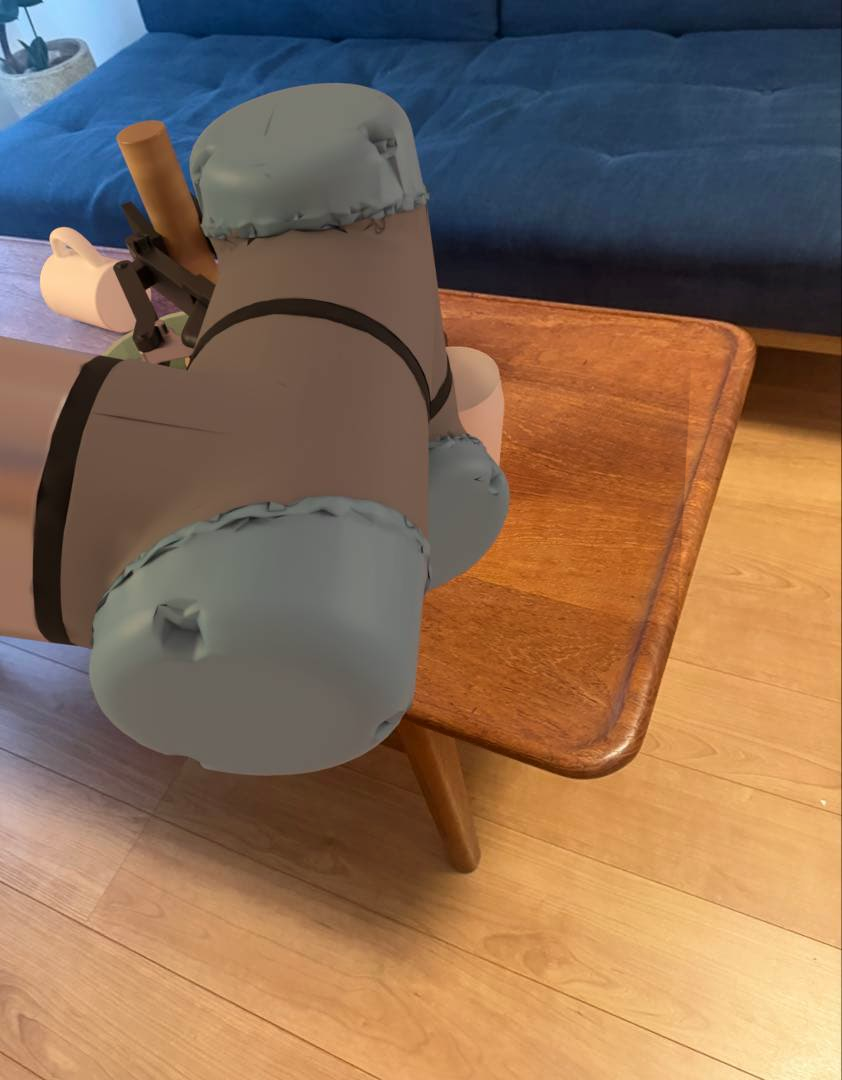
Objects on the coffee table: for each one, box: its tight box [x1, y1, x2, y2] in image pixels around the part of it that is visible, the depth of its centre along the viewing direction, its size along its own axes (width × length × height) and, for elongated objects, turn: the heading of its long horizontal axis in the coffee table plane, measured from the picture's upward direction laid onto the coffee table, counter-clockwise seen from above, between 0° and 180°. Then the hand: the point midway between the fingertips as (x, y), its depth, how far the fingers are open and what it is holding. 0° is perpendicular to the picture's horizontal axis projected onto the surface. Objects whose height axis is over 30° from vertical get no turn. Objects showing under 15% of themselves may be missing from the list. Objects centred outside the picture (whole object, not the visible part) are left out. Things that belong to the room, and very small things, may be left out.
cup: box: [446, 346, 505, 467], centre depth 71 cm, size 9×9×12 cm
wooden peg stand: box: [116, 119, 220, 366], centre depth 56 cm, size 6×6×17 cm
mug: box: [39, 226, 152, 334], centre depth 99 cm, size 8×10×12 cm
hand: (158, 211), depth 58 cm, fingers closed on wooden peg stand, 3 cm apart
